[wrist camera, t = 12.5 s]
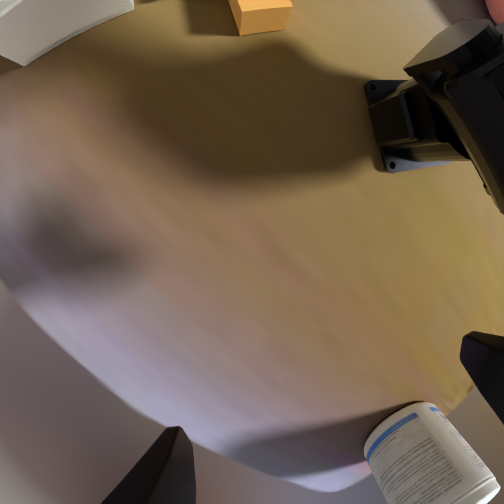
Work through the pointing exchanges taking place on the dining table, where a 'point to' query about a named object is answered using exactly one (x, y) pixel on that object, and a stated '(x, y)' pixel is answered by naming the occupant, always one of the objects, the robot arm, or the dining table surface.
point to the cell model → (496, 10)
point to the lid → (260, 15)
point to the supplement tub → (426, 460)
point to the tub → (50, 23)
